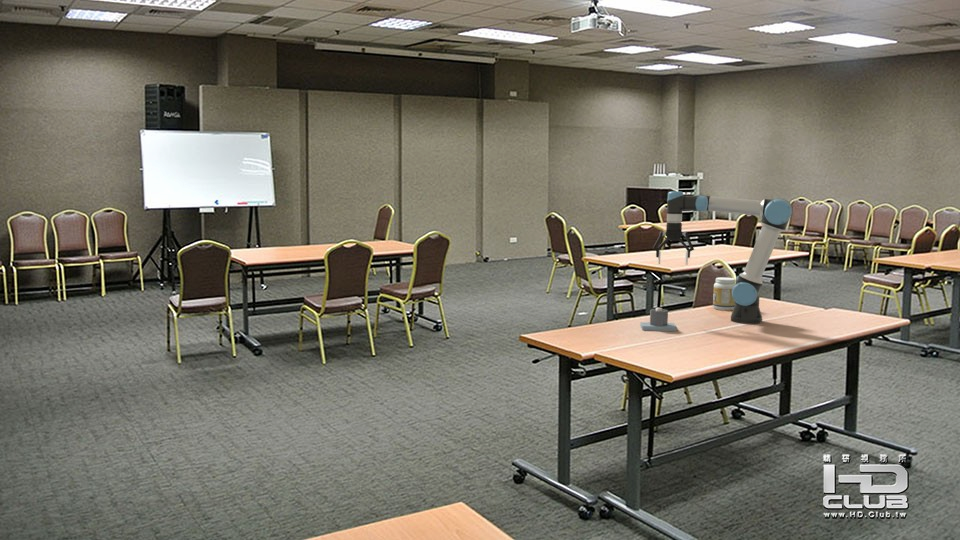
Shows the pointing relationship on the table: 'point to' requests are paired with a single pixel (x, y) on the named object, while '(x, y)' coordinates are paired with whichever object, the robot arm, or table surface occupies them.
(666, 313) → the cylinder
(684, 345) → the table surface
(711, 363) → the table surface
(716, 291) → the supplement tub
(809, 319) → the table surface
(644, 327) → the shaft block
